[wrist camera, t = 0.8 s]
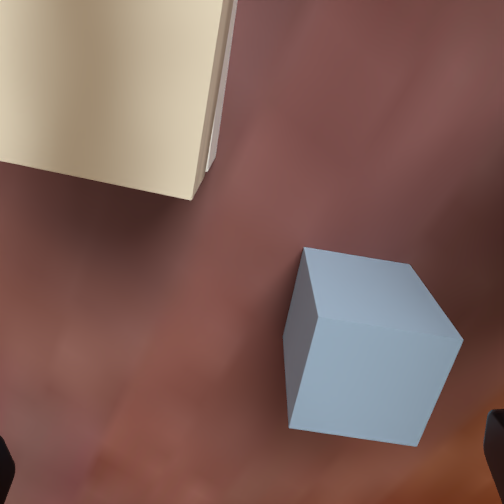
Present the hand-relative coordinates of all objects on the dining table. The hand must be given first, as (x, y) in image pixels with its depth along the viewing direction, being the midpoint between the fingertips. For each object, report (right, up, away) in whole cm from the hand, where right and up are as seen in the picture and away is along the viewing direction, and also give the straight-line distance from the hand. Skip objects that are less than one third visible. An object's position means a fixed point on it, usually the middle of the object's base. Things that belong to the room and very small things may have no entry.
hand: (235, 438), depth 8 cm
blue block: (+5, +1, +13) cm, 14 cm away
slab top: (-4, +9, +6) cm, 12 cm away
